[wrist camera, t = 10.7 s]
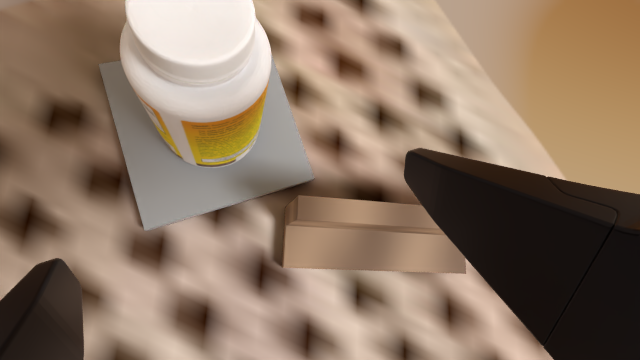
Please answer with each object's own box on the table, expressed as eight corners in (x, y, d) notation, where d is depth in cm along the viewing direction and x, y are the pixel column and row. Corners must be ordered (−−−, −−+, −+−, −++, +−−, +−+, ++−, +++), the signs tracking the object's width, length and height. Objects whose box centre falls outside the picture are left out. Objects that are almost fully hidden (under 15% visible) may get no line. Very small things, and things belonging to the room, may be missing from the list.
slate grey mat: (312, 180, 22) (314, 178, 21) (147, 230, 19) (144, 230, 18) (264, 42, 23) (265, 36, 23) (102, 69, 20) (98, 64, 20)
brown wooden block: (455, 219, 24) (504, 212, 20) (458, 272, 23) (509, 277, 19) (285, 207, 21) (298, 195, 17) (281, 267, 20) (294, 270, 16)
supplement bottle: (274, 111, 22) (308, -7, 12) (230, 187, 20) (229, 121, 10) (193, 66, 21) (160, -97, 11) (141, 141, 19) (49, 25, 10)
